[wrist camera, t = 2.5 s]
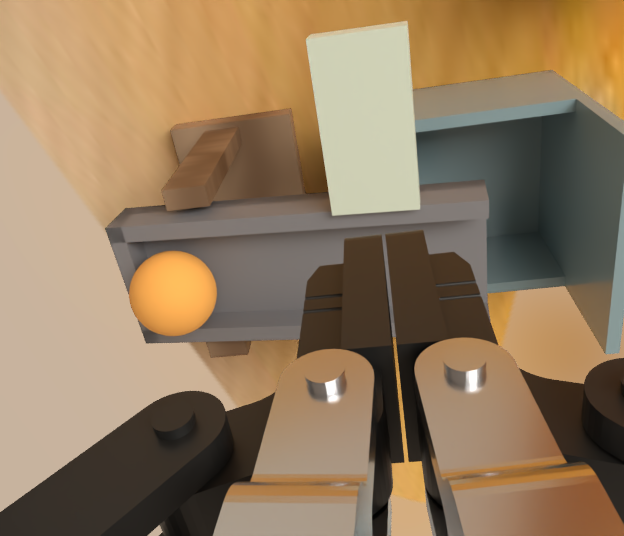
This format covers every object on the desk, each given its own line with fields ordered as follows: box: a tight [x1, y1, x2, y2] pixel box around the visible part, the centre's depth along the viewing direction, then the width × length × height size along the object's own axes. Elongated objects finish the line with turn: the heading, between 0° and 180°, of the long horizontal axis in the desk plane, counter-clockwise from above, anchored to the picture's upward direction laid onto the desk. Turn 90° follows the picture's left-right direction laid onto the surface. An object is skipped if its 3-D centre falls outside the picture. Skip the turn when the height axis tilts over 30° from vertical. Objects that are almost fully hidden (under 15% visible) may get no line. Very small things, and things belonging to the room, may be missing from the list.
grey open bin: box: [413, 70, 624, 354], centre depth 31 cm, size 10×10×12 cm
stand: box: [161, 109, 306, 358], centre depth 33 cm, size 7×10×10 cm
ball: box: [129, 251, 217, 336], centre depth 28 cm, size 4×4×4 cm
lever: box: [105, 21, 490, 343], centre depth 26 cm, size 17×14×3 cm
